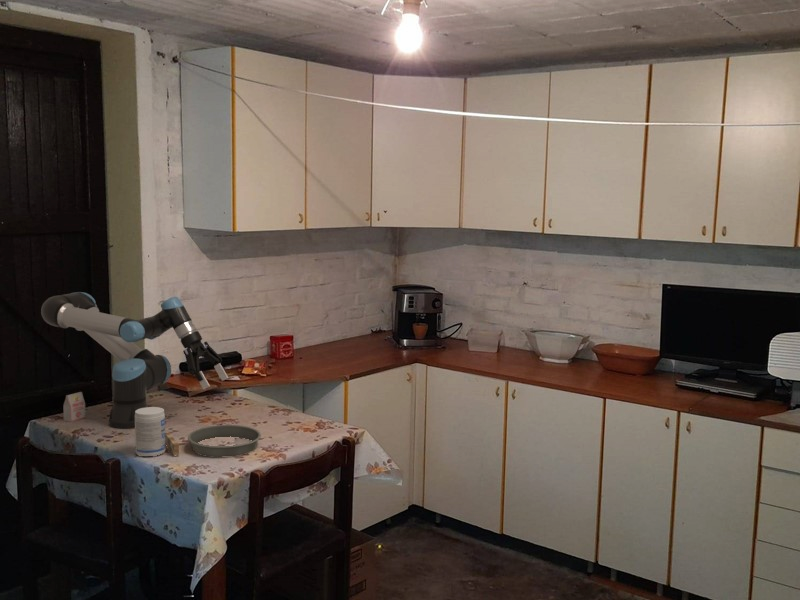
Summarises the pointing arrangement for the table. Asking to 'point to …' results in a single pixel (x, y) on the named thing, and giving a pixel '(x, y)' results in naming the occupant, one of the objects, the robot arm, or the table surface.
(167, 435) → the stop rail
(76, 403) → the gable top carton
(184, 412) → the table surface
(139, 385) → the robot arm
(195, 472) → the table surface
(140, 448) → the supplement tub
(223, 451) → the cake pan
